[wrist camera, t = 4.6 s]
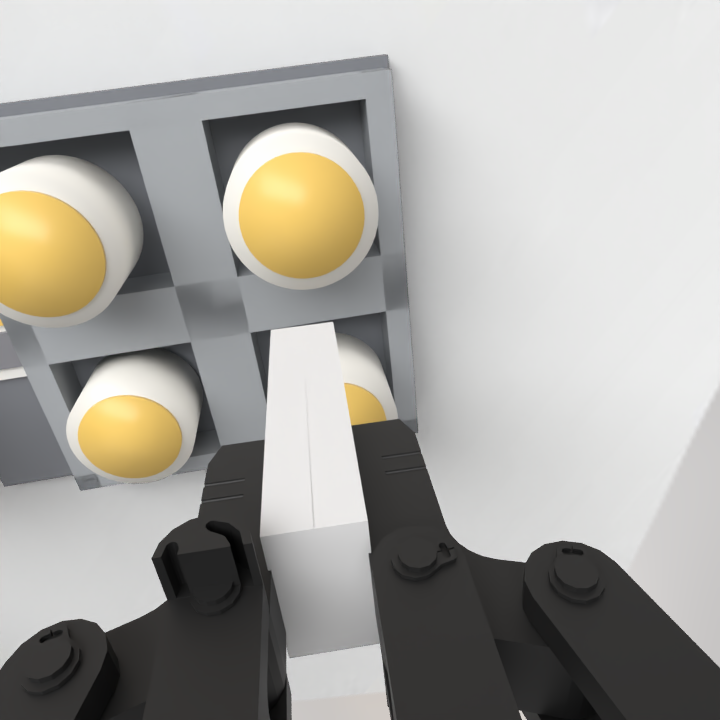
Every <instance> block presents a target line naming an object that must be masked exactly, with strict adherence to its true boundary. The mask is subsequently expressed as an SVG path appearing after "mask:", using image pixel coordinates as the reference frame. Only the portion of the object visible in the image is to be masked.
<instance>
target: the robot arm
mask: <svg viewBox="0 0 720 720" xmlns="http://www.w3.org/2000/svg"><path fill="white" fill-rule="evenodd" d="M204 484H205V487H204V489H203V494H202V499H201V501H202V504H201V505H200V510H199V515H198V518H195V519H192V520H189V521H187V522H185V523H184V524H182V525H180V526H179V527H177V528H175V529H173V530H172V531H171V532H170V533H169V534H168V535H167V536H166V537H165V538H164V539H163V540H162V541H161V542H160V543H159V545H158V547H157V549H156V551H155V553H154V555H153V557H152V561H153V564H154V566H155V569H156V572H157V574H158V577H159V579H160V582H161V584H162V587H163V590H164V592H165V595H166V597H167V601H166V602H164V603H163V604H162V605H160V606H159V607H158V608H156V609H155V610H153V611H151V612H150V613H148V614H146V615H144V616H142V617H140V618H138V619H136V620H133V621H131V622H129V623H126V624H124V625H122V626H120V627H117V628H115V629H113V630H110V631H108V632H106V633H105V632H104V631H103V630H102V629H101V628H100V627H99V626H98V624H97V623H94V622H90V621H87V620H83V619H77V620H68V621H62V622H59V623H57V624H55V625H52V626H50V627H47V628H45V629H43V630H41V631H39V632H38V633H37V634H35V635H34V636H32V637H31V638H30V639H28V640H27V641H26V642H24V643H23V644H22V645H21V646H20V647H19V648H18V649H17V650H16V651H15V652H14V654H13V655H12V656H11V657H10V658H9V659H8V660H7V661H6V663H5V664H4V666H3V667H2V668H1V670H0V720H292V718H291V691H290V687H289V682H288V678H287V674H286V646H287V650H288V654H289V658H294V657H300V656H306V655H312V654H318V653H324V652H331V651H337V650H343V649H349V648H355V647H361V646H367V645H373V644H379V643H380V647H381V653H382V660H383V669H384V678H385V686H386V695H387V704H388V707H389V710H390V717H391V720H522V719H521V716H520V713H519V710H521V711H522V712H523V714H524V716H525V717H526V719H527V720H720V668H719V667H718V666H717V665H716V664H715V663H714V662H713V661H712V660H711V658H710V657H709V656H707V654H706V653H705V652H704V651H703V650H702V649H701V648H700V647H699V646H698V645H696V643H695V642H694V641H693V640H692V639H691V638H690V637H689V636H688V635H687V634H686V633H685V632H684V631H683V630H682V629H681V628H680V627H679V626H678V625H677V624H676V623H675V622H674V621H673V620H672V619H671V618H670V617H669V616H668V615H667V614H666V613H665V612H664V611H663V610H662V609H661V608H660V607H659V606H658V605H657V604H656V603H655V602H654V601H653V600H652V599H651V598H650V597H649V595H647V594H646V592H644V591H643V589H642V588H641V587H640V586H639V585H638V584H637V583H636V582H635V581H634V580H633V579H632V578H631V577H630V576H629V575H628V574H627V573H626V572H625V571H624V570H623V569H622V568H621V567H620V566H619V565H618V564H617V563H616V562H615V561H613V560H612V559H611V558H609V557H608V556H607V555H605V554H604V553H603V552H601V551H600V550H597V549H595V548H592V547H590V546H587V545H585V544H582V543H576V542H567V541H559V542H554V543H549V544H544V545H543V546H541V547H540V548H538V549H537V550H535V551H533V552H532V553H531V555H530V556H529V558H528V560H527V562H526V563H523V562H515V561H507V560H498V559H493V558H488V557H484V556H481V555H478V554H476V553H474V552H471V551H469V550H468V549H466V548H465V547H463V546H462V545H460V544H459V543H458V542H457V541H456V540H455V539H454V538H453V537H452V536H451V534H450V533H449V531H448V529H447V527H446V525H445V522H444V519H443V516H442V513H441V510H440V507H439V504H438V501H437V498H436V495H435V492H434V489H433V486H432V483H431V480H430V477H429V474H428V471H427V469H426V465H425V462H424V459H423V456H422V454H421V450H420V447H419V444H418V441H417V438H416V435H415V433H414V432H413V431H412V430H411V429H410V428H409V427H408V426H407V425H406V424H404V423H403V422H402V421H401V420H400V419H394V420H387V421H380V422H373V423H366V424H359V425H351V422H350V416H349V410H348V404H347V399H346V393H345V387H344V381H343V376H342V370H341V364H340V358H339V353H338V347H337V341H336V335H335V330H334V324H333V322H328V323H320V324H312V325H305V326H297V327H289V328H282V329H274V330H271V336H270V354H269V373H268V392H267V411H266V429H265V440H257V441H250V442H243V443H236V444H229V445H222V446H221V447H220V449H219V450H218V451H217V453H216V454H215V455H214V457H213V458H212V459H211V461H210V462H209V463H208V467H207V473H206V478H205V483H204Z"/></svg>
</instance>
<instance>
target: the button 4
mask: <svg viewBox="0 0 720 720" xmlns="http://www.w3.org/2000/svg"><path fill="white" fill-rule="evenodd" d="M335 335H336V341H337V347H338V353H339V358H340V364H341V370H342V376H343V381H344V387H345V393H346V399H347V404H348V410H349V416H350V422H351V425H359V424H366V423H373V422H380V421H387V420H394V419H398V413H397V408H396V405H395V402H394V399H393V397H392V394H391V391H390V388H389V385H388V382H387V379H386V376H385V374H384V371H383V368H382V365H381V362H380V360H379V358H378V356H377V355H376V353H375V352H374V351H373V350H372V349H371V348H370V347H369V346H368V345H367V344H366V343H364V342H363V341H361V340H359V339H358V338H355V337H353V336H350V335H346V334H342V333H335Z"/></svg>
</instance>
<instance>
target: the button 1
mask: <svg viewBox="0 0 720 720" xmlns="http://www.w3.org/2000/svg"><path fill="white" fill-rule="evenodd" d="M143 237H144V234H143V225H142V220H141V216H140V214H139V211H138V208H137V206H136V205H135V203H134V201H133V199H132V197H131V196H130V195H129V193H128V192H127V190H126V189H125V188H124V187H123V186H122V185H121V183H119V182H118V181H117V180H116V179H115V178H114V177H113V176H112V175H110V174H109V173H108V172H106V171H105V170H103V169H102V168H100V167H98V166H96V165H95V164H92V163H90V162H88V161H86V160H82V159H79V158H76V157H71V156H66V155H45V156H40V157H36V158H33V159H30V160H27V161H25V162H23V163H20V164H18V165H16V166H14V167H11V168H9V169H7V170H4V171H2V172H0V313H1V314H3V315H4V316H7V317H9V318H11V319H13V320H16V321H18V322H21V323H24V324H28V325H32V326H37V327H45V328H61V327H69V326H74V325H78V324H81V323H84V322H86V321H88V320H90V319H92V318H94V317H96V316H97V315H98V314H100V313H101V312H102V311H103V310H105V309H106V308H107V307H108V306H109V304H110V303H111V302H112V300H113V299H114V298H115V296H116V294H117V293H118V291H119V290H120V288H121V287H122V285H123V284H124V282H125V281H126V279H127V277H128V276H129V274H130V273H131V271H132V270H133V268H134V267H135V265H136V263H137V261H138V259H139V257H140V254H141V251H142V247H143Z"/></svg>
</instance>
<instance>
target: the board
mask: <svg viewBox="0 0 720 720" xmlns="http://www.w3.org/2000/svg"><path fill="white" fill-rule="evenodd" d="M295 122H297V123H307V124H311V125H315V126H318V127H321V128H323V129H325V130H327V131H329V132H331V133H332V134H334V135H335V136H336V137H338V138H339V139H340V140H341V141H342V142H343V143H344V144H345V145H346V146H347V147H348V148H349V149H350V151H351V152H352V153H353V154H354V156H355V157H356V158H357V159H358V161H359V162H360V163H361V165H362V166H363V167H364V168H365V170H366V172H367V173H368V175H369V177H370V179H371V181H372V183H373V185H374V188H375V192H376V195H377V201H378V211H379V218H378V227H377V231H376V235H375V238H374V241H373V243H372V246H371V248H370V250H369V251H368V253H367V255H366V256H365V258H364V259H363V260H362V262H361V263H360V264H359V265H358V266H357V267H356V268H355V269H354V270H353V271H352V272H351V273H349V274H348V275H347V276H345V277H344V278H342V279H341V280H339V281H337V282H335V283H333V284H330V285H327V286H325V287H321V288H316V289H309V290H294V289H288V288H283V287H279V286H276V285H274V284H271V283H269V282H267V281H265V280H263V279H261V278H260V277H258V276H257V275H255V274H254V273H253V272H251V271H250V270H249V269H248V268H247V267H246V266H245V265H244V264H243V263H242V262H241V260H240V259H239V258H238V257H237V255H236V254H235V252H234V250H233V249H232V247H231V245H230V242H229V240H228V238H227V234H226V231H225V227H224V221H223V201H224V195H225V191H226V187H227V184H228V181H229V178H230V176H231V173H232V170H233V167H234V164H235V162H236V160H237V158H238V156H239V154H240V152H241V151H242V150H243V148H244V147H245V146H246V144H247V143H248V142H250V141H251V140H252V139H253V138H254V137H255V136H256V135H258V134H259V133H261V132H262V131H264V130H266V129H268V128H270V127H273V126H276V125H280V124H284V123H295ZM45 155H66V156H71V157H76V158H79V159H82V160H86V161H88V162H90V163H92V164H95V165H96V166H98V167H100V168H102V169H103V170H105V171H106V172H108V173H109V174H110V175H112V176H113V177H114V178H115V179H116V180H117V181H118V182H119V183H121V185H122V186H123V187H124V188H125V189H126V190H127V192H128V193H129V195H130V196H131V197H132V199H133V201H134V203H135V205H136V206H137V208H138V211H139V214H140V216H141V220H142V225H143V234H144V237H143V247H142V251H141V254H140V257H139V259H138V261H137V263H136V265H135V267H134V268H133V270H132V271H131V273H130V274H129V276H128V277H127V279H126V281H125V282H124V284H123V285H122V287H121V288H120V290H119V291H118V293H117V294H116V296H115V298H114V299H113V300H112V302H111V303H110V304H109V306H108V307H107V308H106V309H105V310H103V311H102V312H101V313H100V314H98V315H97V316H96V317H94V318H92V319H90V320H88V321H86V322H84V323H81V324H78V325H74V326H69V327H61V328H45V327H37V326H32V325H28V324H24V323H21V322H18V321H16V320H13V319H11V318H9V317H7V316H4V315H3V314H1V313H0V479H1V481H2V483H3V485H4V487H5V486H11V485H16V484H22V483H28V482H34V481H40V480H46V479H52V478H57V477H63V476H69V475H73V476H74V478H75V480H76V482H77V484H78V486H79V488H80V491H82V490H87V489H93V488H99V487H105V486H111V485H116V484H122V483H123V482H117V481H114V480H110V479H107V478H105V477H102V476H100V475H98V474H96V473H94V472H93V471H91V470H90V469H88V468H87V467H86V466H85V465H83V464H82V463H81V462H80V461H79V460H78V459H77V457H76V456H75V454H74V453H73V451H72V450H71V448H70V446H69V443H68V440H67V435H66V425H67V419H68V416H69V414H70V412H71V410H72V408H73V407H74V405H75V403H76V401H77V399H78V398H79V396H80V394H81V392H82V391H83V389H84V387H85V385H86V383H87V382H88V380H89V378H90V376H91V375H92V373H93V371H94V369H95V367H96V366H97V365H98V364H99V362H100V361H101V360H102V359H103V358H105V357H106V356H107V355H112V354H119V353H125V352H131V351H138V350H144V349H150V348H157V347H158V348H162V349H164V350H167V351H170V352H172V353H174V354H176V355H177V356H179V357H181V358H182V359H183V360H185V361H186V362H187V363H188V364H189V365H190V366H191V367H192V368H193V370H194V371H195V372H196V374H197V376H198V377H199V379H200V382H201V385H202V389H203V403H202V408H201V413H200V418H199V423H198V428H197V433H196V438H195V443H194V447H193V451H192V453H191V455H190V457H189V459H188V460H187V462H186V463H185V464H184V465H183V466H182V467H181V468H180V469H179V470H178V471H176V472H175V473H173V474H172V475H174V474H180V473H186V472H192V471H198V470H203V469H207V467H208V463H209V462H210V461H211V459H212V458H213V457H214V455H215V454H216V453H217V451H218V450H219V449H220V447H221V446H222V445H229V444H236V443H243V442H250V441H257V440H265V429H266V411H267V392H268V373H269V354H270V336H271V330H274V329H282V328H289V327H297V326H305V325H312V324H320V323H328V322H333V324H334V330H335V333H342V334H346V335H350V336H353V337H355V338H358V339H359V340H361V341H363V342H364V343H366V344H367V345H368V346H369V347H370V348H371V349H372V350H373V351H374V352H375V353H376V355H377V356H378V358H379V360H380V362H381V365H382V368H383V371H384V374H385V376H386V379H387V382H388V385H389V388H390V391H391V394H392V397H393V399H394V402H395V405H396V408H397V413H398V419H400V420H401V421H402V422H403V423H404V424H406V425H407V426H408V427H409V428H410V429H411V430H412V431H413V432H414V433H418V424H417V410H416V396H415V383H414V369H413V355H412V342H411V328H410V314H409V301H408V287H407V274H406V260H405V246H404V233H403V219H402V205H401V192H400V178H399V164H398V151H397V137H396V123H395V110H394V96H393V82H392V69H389V63H388V55H376V56H368V57H361V58H353V59H345V60H337V61H329V62H321V63H314V64H306V65H298V66H290V67H282V68H275V69H267V70H259V71H251V72H243V73H235V74H228V75H220V76H212V77H204V78H196V79H189V80H181V81H173V82H165V83H157V84H149V85H142V86H134V87H126V88H118V89H110V90H102V91H95V92H87V93H79V94H71V95H63V96H56V97H48V98H40V99H32V100H24V101H16V102H9V103H1V104H0V172H2V171H4V170H7V169H9V168H11V167H14V166H16V165H18V164H20V163H23V162H25V161H27V160H30V159H33V158H36V157H40V156H45Z"/></svg>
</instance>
